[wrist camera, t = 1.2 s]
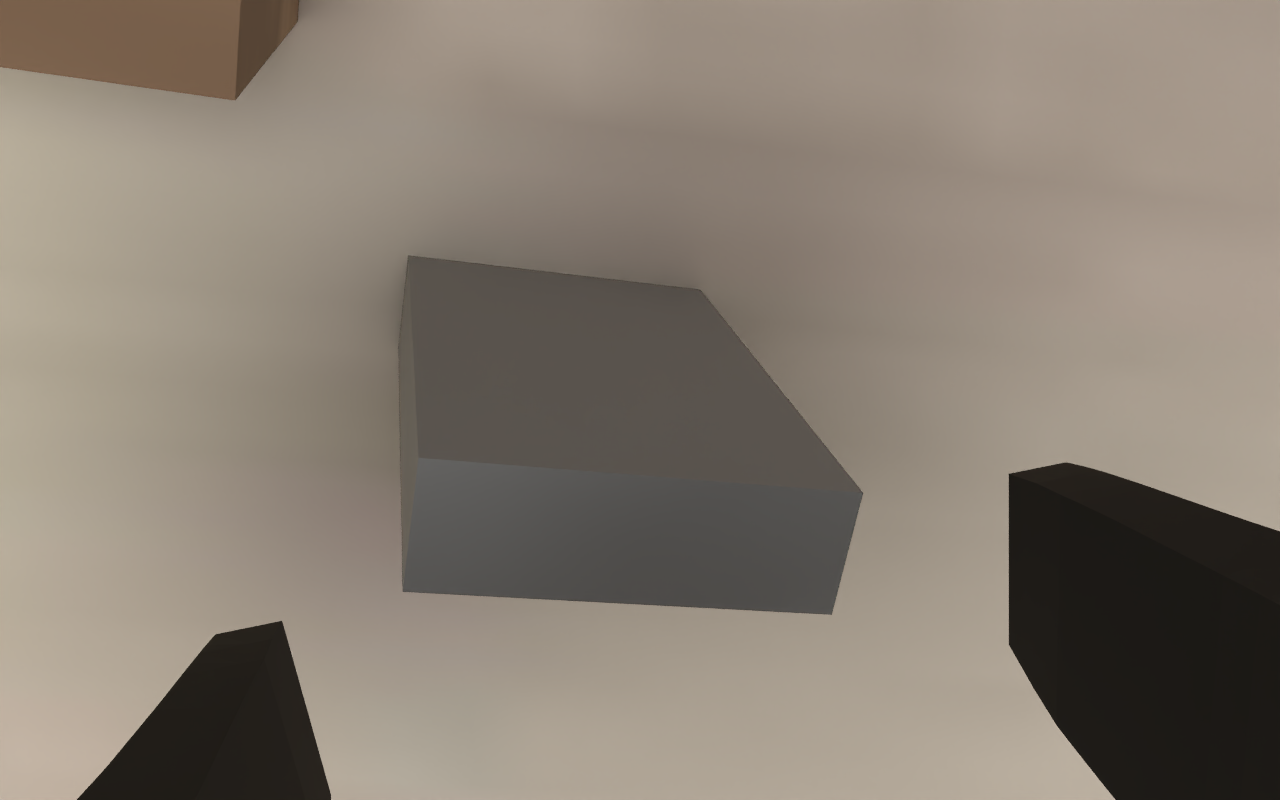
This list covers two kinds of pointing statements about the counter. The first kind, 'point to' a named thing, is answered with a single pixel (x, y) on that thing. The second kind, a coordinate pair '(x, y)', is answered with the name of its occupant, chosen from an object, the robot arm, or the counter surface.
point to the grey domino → (604, 449)
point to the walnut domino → (147, 41)
